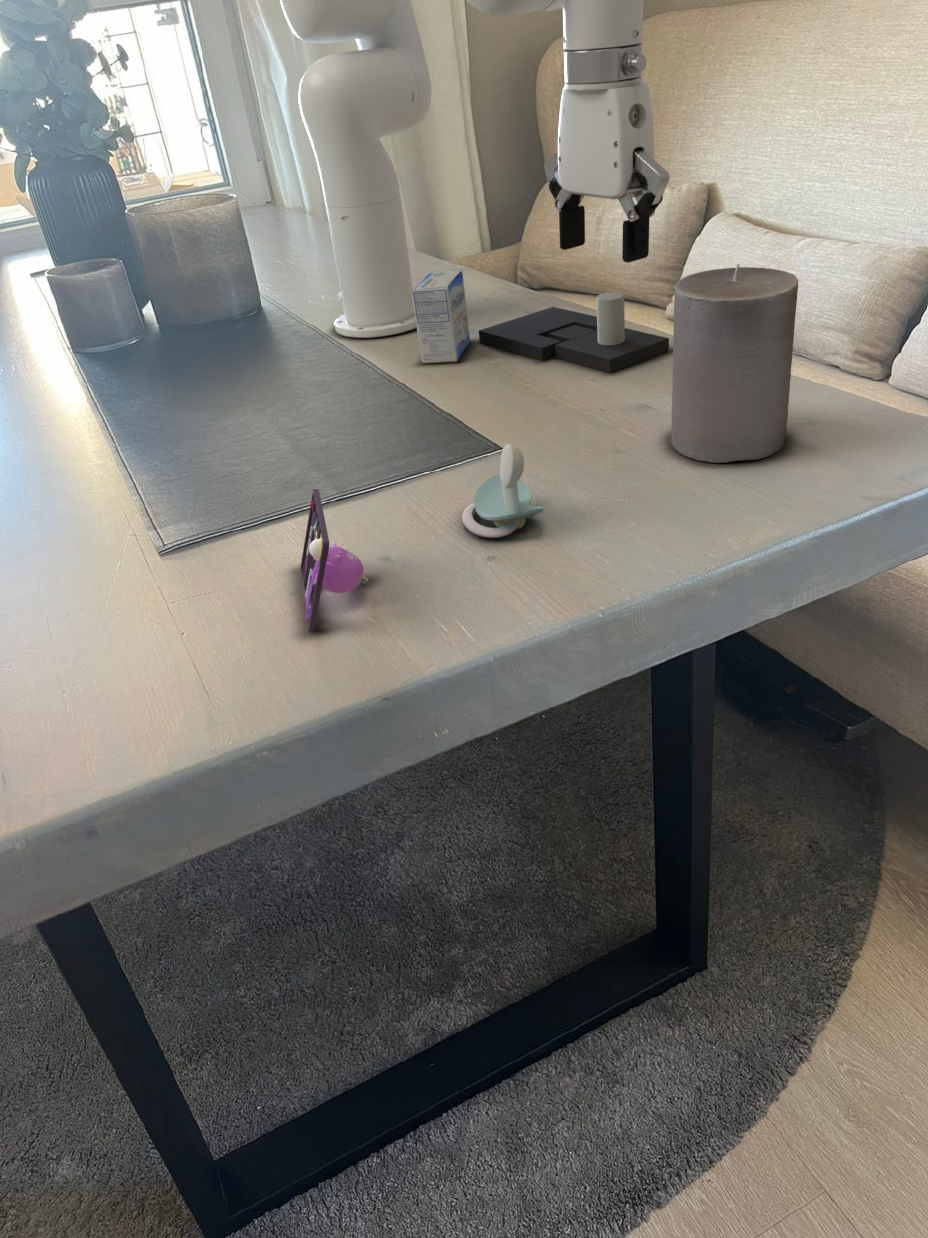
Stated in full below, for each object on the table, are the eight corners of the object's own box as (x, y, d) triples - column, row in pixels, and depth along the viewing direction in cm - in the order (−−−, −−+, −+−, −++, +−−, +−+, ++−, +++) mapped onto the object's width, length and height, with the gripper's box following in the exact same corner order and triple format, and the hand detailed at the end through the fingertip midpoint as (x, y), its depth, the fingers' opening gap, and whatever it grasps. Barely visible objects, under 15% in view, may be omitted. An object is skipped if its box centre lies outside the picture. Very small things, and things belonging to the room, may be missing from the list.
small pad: (532, 351, 110) (529, 294, 107) (589, 331, 114) (587, 276, 111) (610, 373, 101) (608, 312, 97) (669, 351, 105) (669, 291, 101)
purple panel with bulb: (303, 486, 67) (312, 541, 60) (374, 495, 69) (391, 550, 61) (290, 568, 71) (297, 630, 63) (358, 575, 72) (373, 637, 65)
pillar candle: (710, 414, 88) (717, 246, 80) (807, 434, 82) (824, 255, 74) (648, 449, 83) (648, 274, 75) (746, 474, 77) (758, 285, 68)
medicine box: (457, 363, 109) (449, 286, 105) (420, 364, 110) (410, 289, 106) (470, 342, 116) (463, 269, 111) (435, 343, 117) (427, 271, 112)
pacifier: (476, 551, 71) (551, 533, 72) (465, 476, 67) (544, 457, 68) (454, 512, 77) (523, 495, 78) (442, 441, 73) (515, 424, 74)
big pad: (479, 342, 115) (478, 330, 114) (553, 318, 121) (553, 306, 120) (542, 360, 107) (541, 347, 106) (619, 333, 112) (619, 321, 111)
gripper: (697, 63, 87) (688, 256, 96) (572, 64, 99) (575, 236, 108) (639, 73, 83) (635, 272, 93) (516, 73, 95) (524, 249, 105)
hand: (603, 252), depth 101 cm, fingers open, 9 cm apart
